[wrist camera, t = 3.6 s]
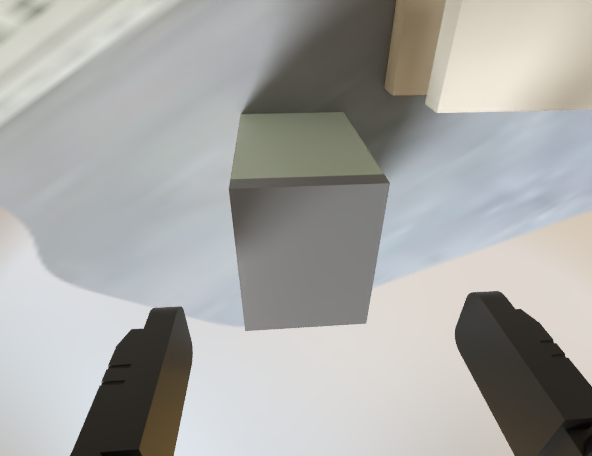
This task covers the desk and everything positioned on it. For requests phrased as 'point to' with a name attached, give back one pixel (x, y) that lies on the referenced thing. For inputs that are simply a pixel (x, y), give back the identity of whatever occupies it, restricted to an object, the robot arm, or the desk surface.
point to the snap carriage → (513, 56)
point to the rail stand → (413, 46)
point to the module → (305, 220)
